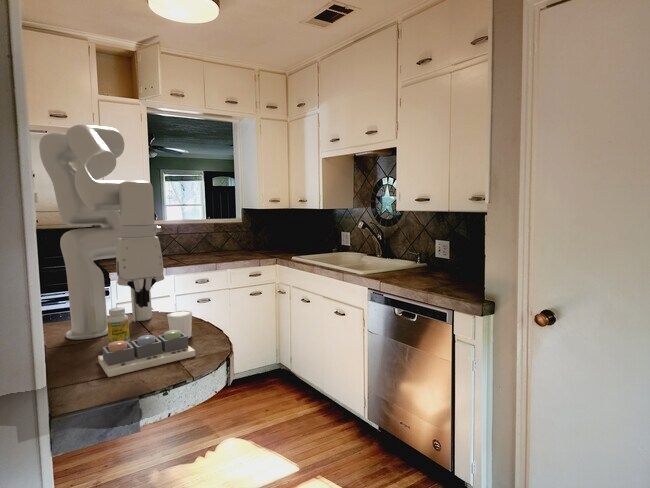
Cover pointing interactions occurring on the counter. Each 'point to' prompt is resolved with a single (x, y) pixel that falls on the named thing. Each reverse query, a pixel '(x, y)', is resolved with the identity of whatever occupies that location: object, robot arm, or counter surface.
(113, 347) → the button one
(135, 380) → the counter surface
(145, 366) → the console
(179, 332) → the button three
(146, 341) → the button two
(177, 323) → the white tapered cup
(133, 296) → the paper towel roll
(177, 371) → the counter surface
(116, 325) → the supplement bottle
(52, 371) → the counter surface
